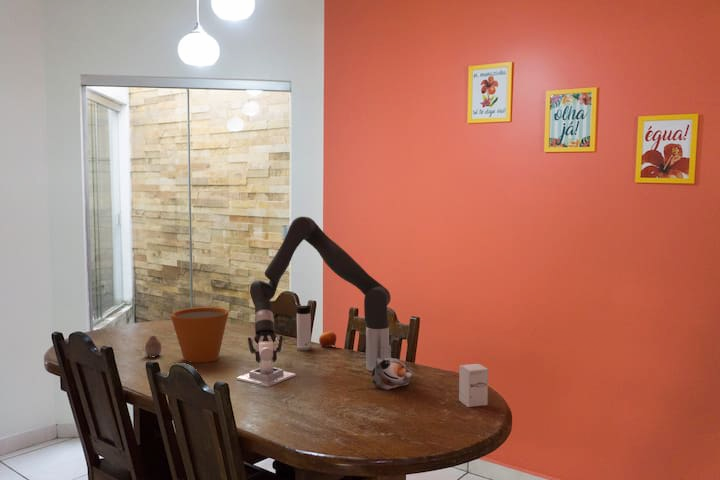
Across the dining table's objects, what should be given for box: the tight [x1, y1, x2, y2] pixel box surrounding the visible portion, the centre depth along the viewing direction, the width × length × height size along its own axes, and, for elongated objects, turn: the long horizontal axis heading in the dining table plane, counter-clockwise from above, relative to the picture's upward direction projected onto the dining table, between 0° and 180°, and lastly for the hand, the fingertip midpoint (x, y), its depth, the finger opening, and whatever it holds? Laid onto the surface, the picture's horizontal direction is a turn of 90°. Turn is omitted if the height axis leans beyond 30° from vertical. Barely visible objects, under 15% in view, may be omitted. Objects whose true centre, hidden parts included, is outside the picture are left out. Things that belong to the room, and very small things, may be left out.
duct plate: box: [236, 366, 297, 388], centre depth 234 cm, size 16×16×3 cm
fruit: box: [318, 330, 337, 348], centre depth 281 cm, size 8×8×8 cm
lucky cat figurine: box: [371, 357, 413, 391], centre depth 222 cm, size 15×12×14 cm
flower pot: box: [170, 306, 229, 363], centre depth 261 cm, size 24×24×20 cm
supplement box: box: [458, 363, 489, 408], centre depth 206 cm, size 7×7×13 cm
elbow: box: [258, 341, 274, 374], centre depth 232 cm, size 9×5×12 cm, turn 12°
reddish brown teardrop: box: [144, 335, 163, 358], centre depth 265 cm, size 7×7×9 cm
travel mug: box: [296, 305, 312, 352], centre depth 276 cm, size 6×7×20 cm
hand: (266, 361), depth 232 cm, fingers closed on elbow, 5 cm apart
